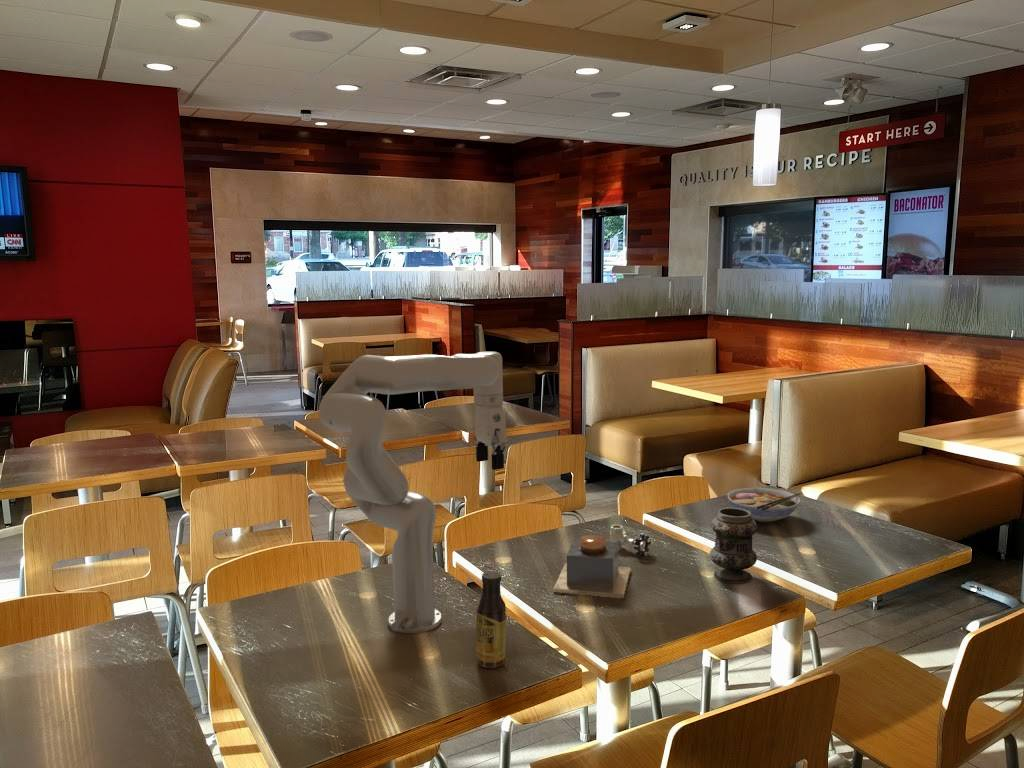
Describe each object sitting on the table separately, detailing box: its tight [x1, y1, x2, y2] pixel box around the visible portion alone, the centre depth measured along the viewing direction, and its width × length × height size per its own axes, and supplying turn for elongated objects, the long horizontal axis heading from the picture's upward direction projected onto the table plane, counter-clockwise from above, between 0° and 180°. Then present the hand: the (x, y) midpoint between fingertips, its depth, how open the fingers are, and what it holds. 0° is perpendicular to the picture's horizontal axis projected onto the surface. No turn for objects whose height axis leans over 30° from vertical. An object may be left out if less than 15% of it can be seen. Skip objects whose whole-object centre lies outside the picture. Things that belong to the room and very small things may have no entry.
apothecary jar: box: [709, 507, 758, 584], centre depth 208 cm, size 12×12×18 cm
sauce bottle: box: [475, 570, 507, 670], centre depth 164 cm, size 7×6×20 cm
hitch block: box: [552, 539, 631, 599], centre depth 207 cm, size 18×18×9 cm
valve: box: [609, 524, 652, 557], centre depth 229 cm, size 7×7×12 cm
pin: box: [578, 534, 607, 553], centre depth 206 cm, size 7×7×10 cm
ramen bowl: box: [727, 487, 803, 523], centre depth 255 cm, size 25×23×8 cm
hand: (489, 464), depth 203 cm, fingers open, 9 cm apart
